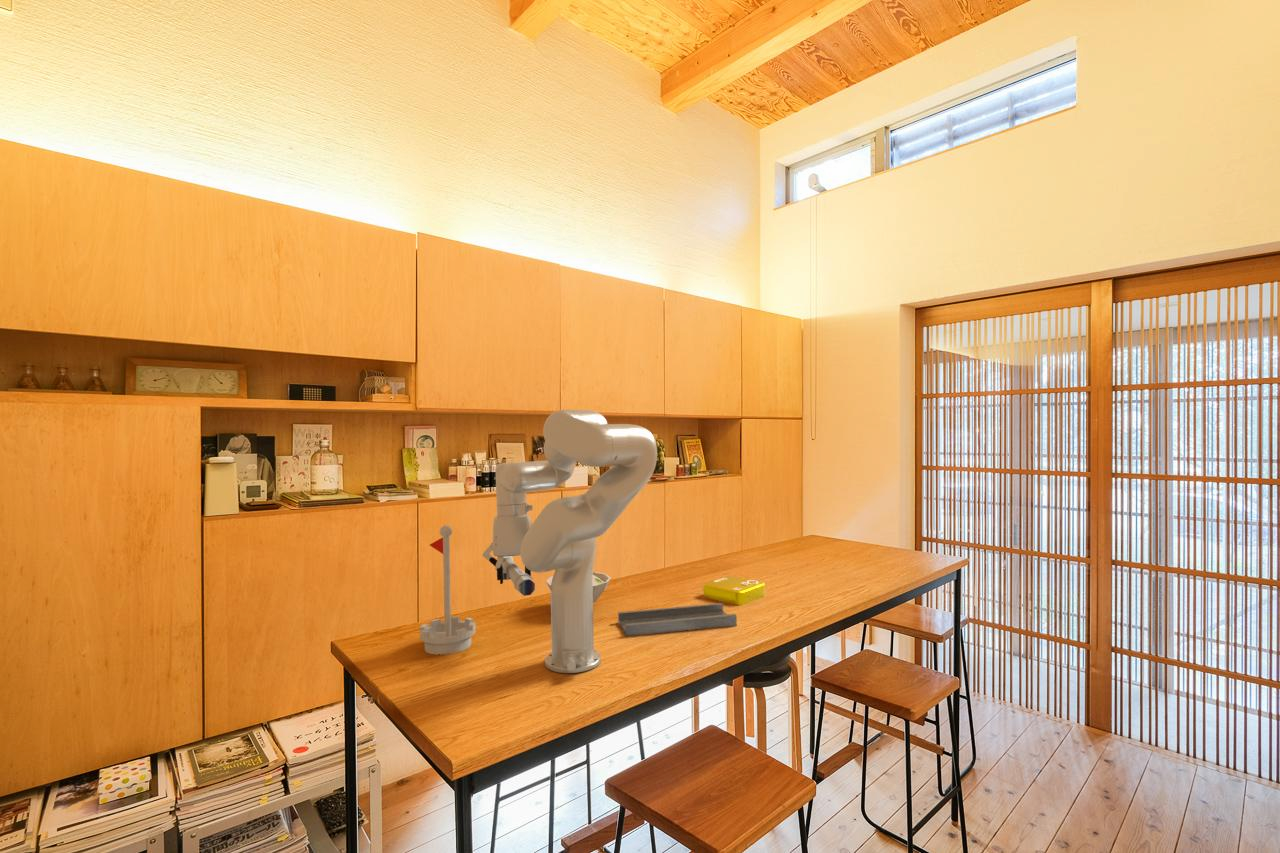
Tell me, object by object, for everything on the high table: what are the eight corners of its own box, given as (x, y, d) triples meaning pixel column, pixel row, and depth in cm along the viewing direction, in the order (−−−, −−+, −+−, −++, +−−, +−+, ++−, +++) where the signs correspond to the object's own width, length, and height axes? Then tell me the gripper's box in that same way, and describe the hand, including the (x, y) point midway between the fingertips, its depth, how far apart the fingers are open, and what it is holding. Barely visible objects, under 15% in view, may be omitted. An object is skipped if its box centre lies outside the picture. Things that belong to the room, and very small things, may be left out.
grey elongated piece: (516, 580, 137) (493, 550, 159) (516, 607, 137) (493, 573, 160) (538, 577, 139) (512, 547, 161) (538, 604, 140) (512, 571, 162)
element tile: (729, 588, 194) (728, 573, 195) (767, 596, 184) (767, 581, 184) (700, 598, 184) (700, 582, 184) (740, 607, 173) (739, 591, 173)
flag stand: (485, 639, 149) (483, 522, 149) (453, 658, 137) (450, 530, 137) (443, 634, 154) (441, 520, 154) (408, 652, 141) (406, 528, 142)
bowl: (589, 596, 187) (589, 564, 187) (624, 610, 171) (623, 576, 171) (534, 607, 175) (534, 574, 176) (566, 624, 160) (565, 587, 160)
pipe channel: (736, 625, 156) (736, 615, 156) (626, 636, 149) (626, 625, 149) (721, 612, 167) (721, 603, 167) (618, 622, 160) (618, 612, 160)
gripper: (544, 507, 155) (547, 575, 155) (477, 511, 152) (480, 581, 151) (546, 510, 148) (549, 582, 148) (476, 514, 144) (478, 588, 144)
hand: (514, 581), depth 149 cm, fingers closed on grey elongated piece, 5 cm apart
